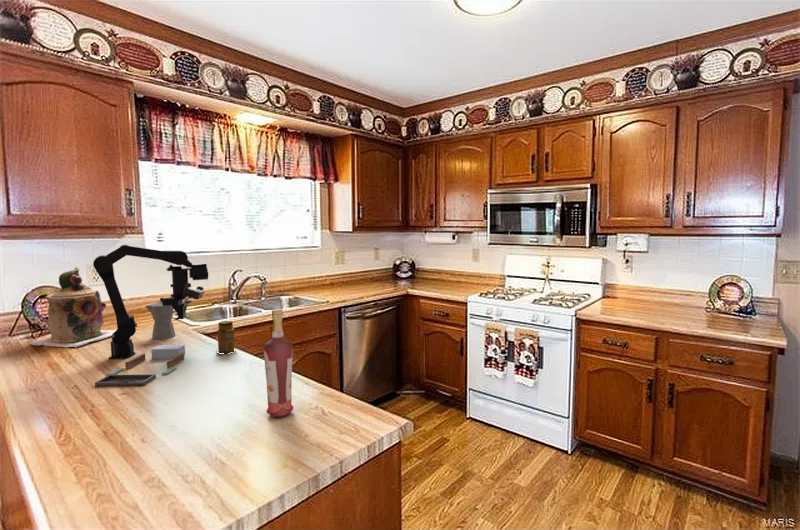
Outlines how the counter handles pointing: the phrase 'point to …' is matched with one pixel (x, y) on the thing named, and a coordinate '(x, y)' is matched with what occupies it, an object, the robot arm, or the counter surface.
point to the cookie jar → (74, 314)
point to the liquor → (278, 369)
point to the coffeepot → (162, 320)
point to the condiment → (226, 338)
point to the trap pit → (125, 380)
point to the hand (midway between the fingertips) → (182, 319)
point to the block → (167, 351)
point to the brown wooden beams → (141, 358)
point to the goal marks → (123, 369)
